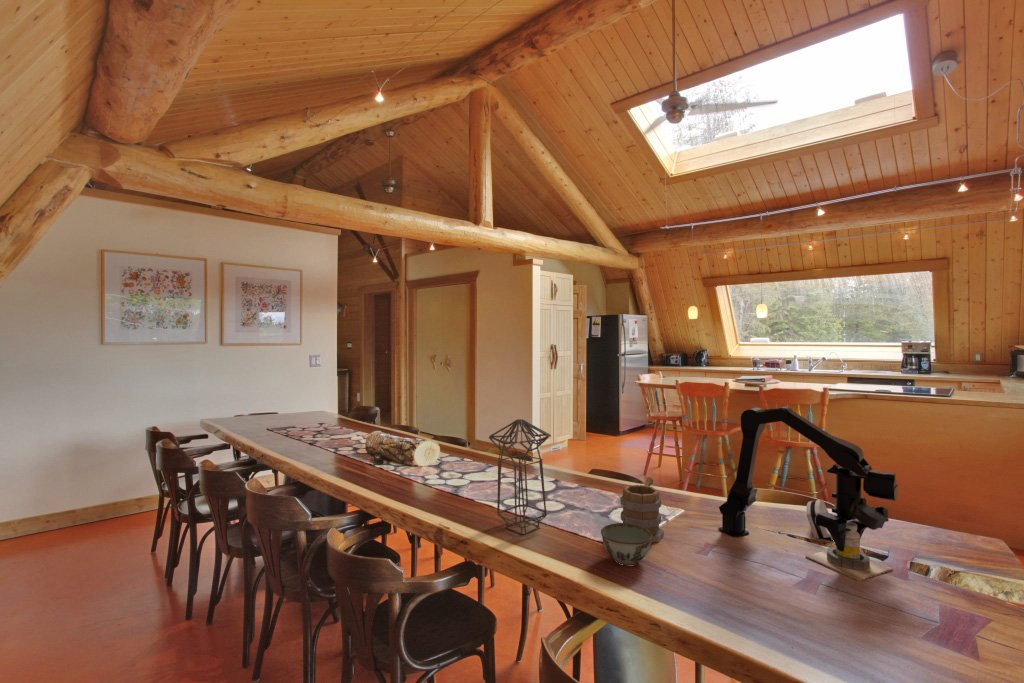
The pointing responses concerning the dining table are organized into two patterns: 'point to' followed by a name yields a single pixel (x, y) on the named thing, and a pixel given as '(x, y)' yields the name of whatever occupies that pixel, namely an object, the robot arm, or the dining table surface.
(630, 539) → the bowl
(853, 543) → the supplement bottle
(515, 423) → the geometric lantern
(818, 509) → the grey piece
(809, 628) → the dining table surface
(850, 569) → the ring holder
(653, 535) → the tankard
